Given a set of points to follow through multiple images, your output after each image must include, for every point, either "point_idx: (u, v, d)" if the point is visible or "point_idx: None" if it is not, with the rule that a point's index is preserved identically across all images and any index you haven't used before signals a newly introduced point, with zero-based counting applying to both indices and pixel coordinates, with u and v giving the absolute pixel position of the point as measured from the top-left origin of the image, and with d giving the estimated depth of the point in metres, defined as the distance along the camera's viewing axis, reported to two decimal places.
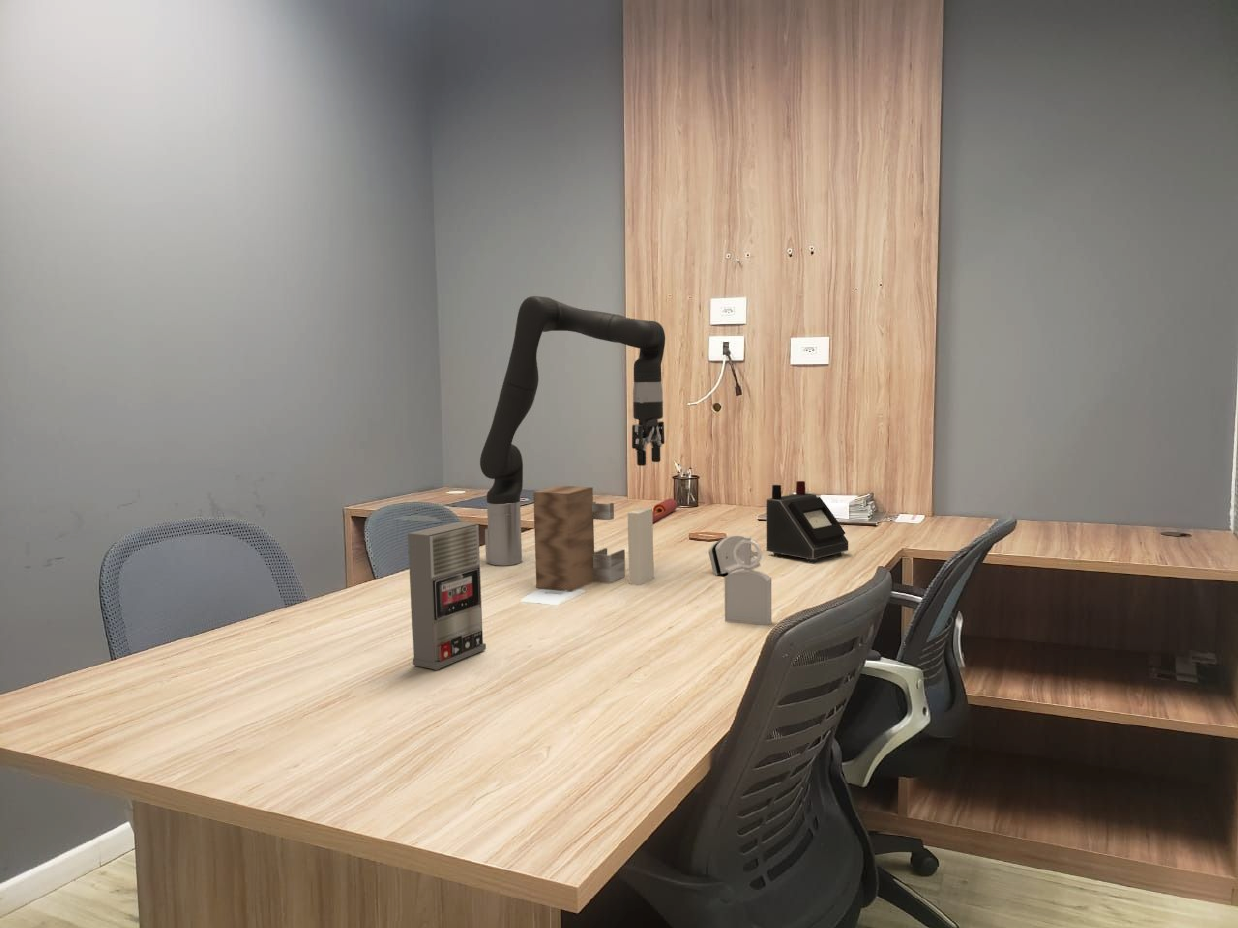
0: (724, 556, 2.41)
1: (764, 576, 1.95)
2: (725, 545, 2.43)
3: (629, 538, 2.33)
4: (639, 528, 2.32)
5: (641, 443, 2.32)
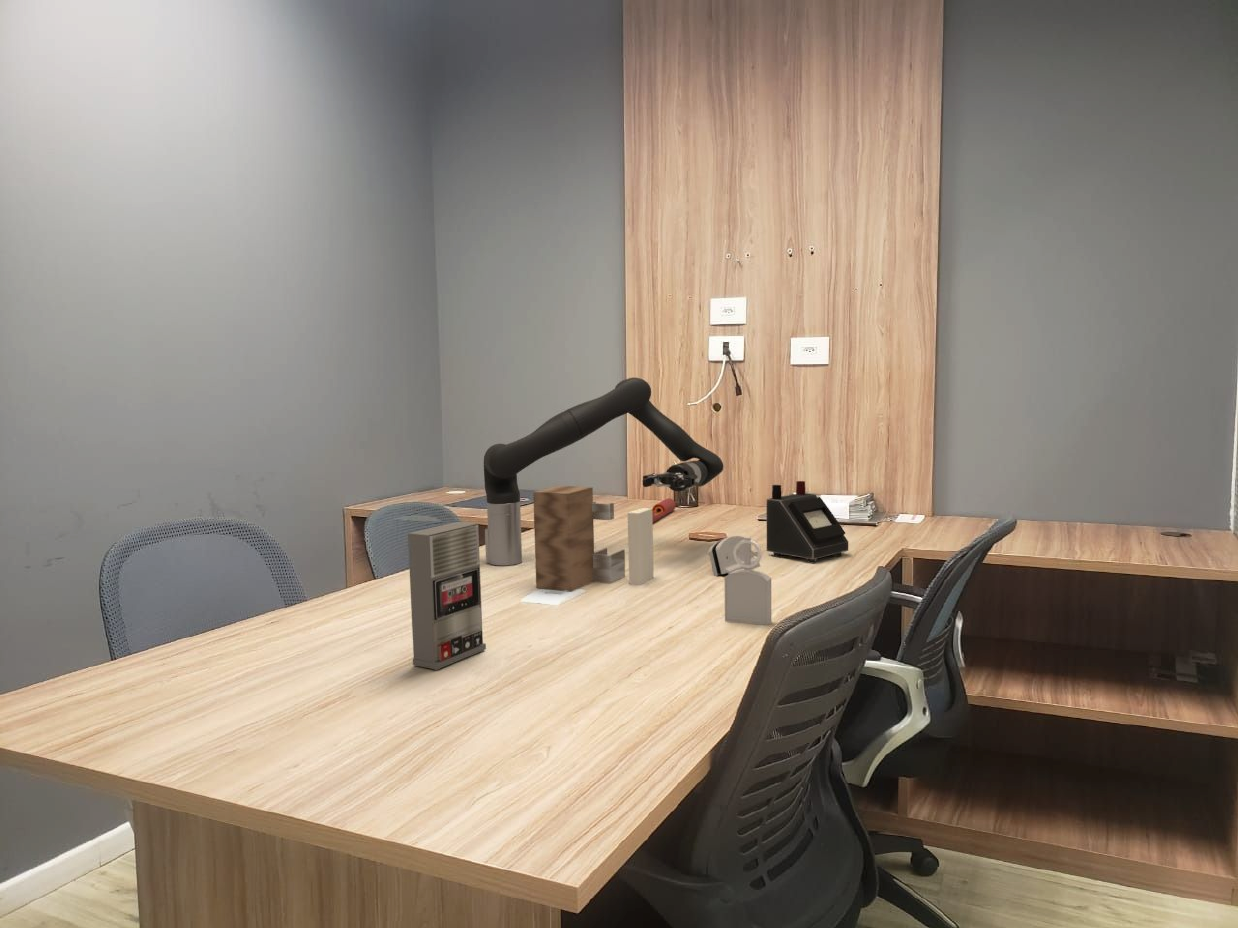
0: (724, 556, 2.41)
1: (764, 576, 1.95)
2: (725, 545, 2.43)
3: (629, 538, 2.33)
4: (639, 528, 2.32)
5: None
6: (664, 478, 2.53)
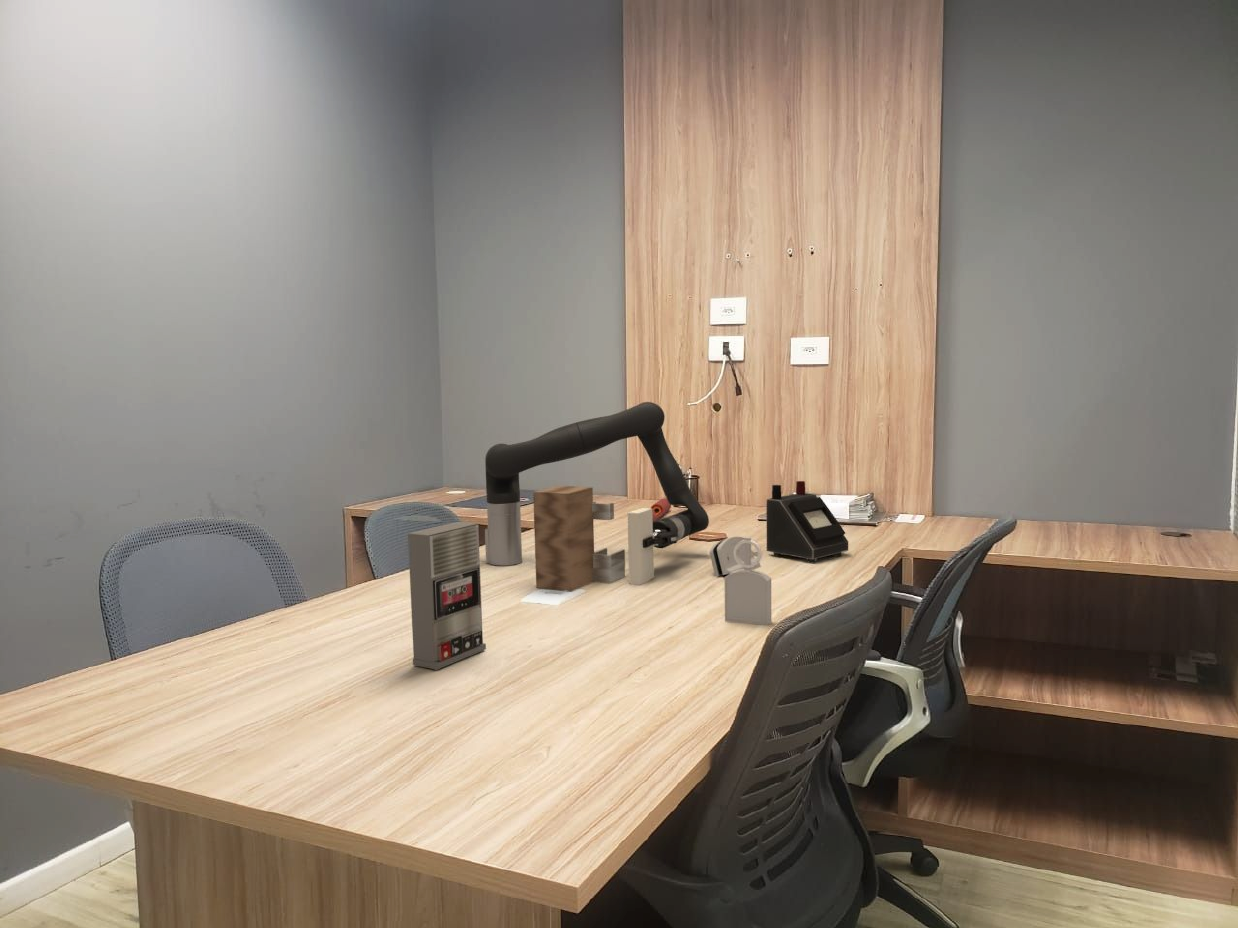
0: (725, 557, 2.40)
1: (764, 576, 1.95)
2: (726, 545, 2.42)
3: (629, 537, 2.33)
4: (639, 528, 2.32)
5: None
6: None
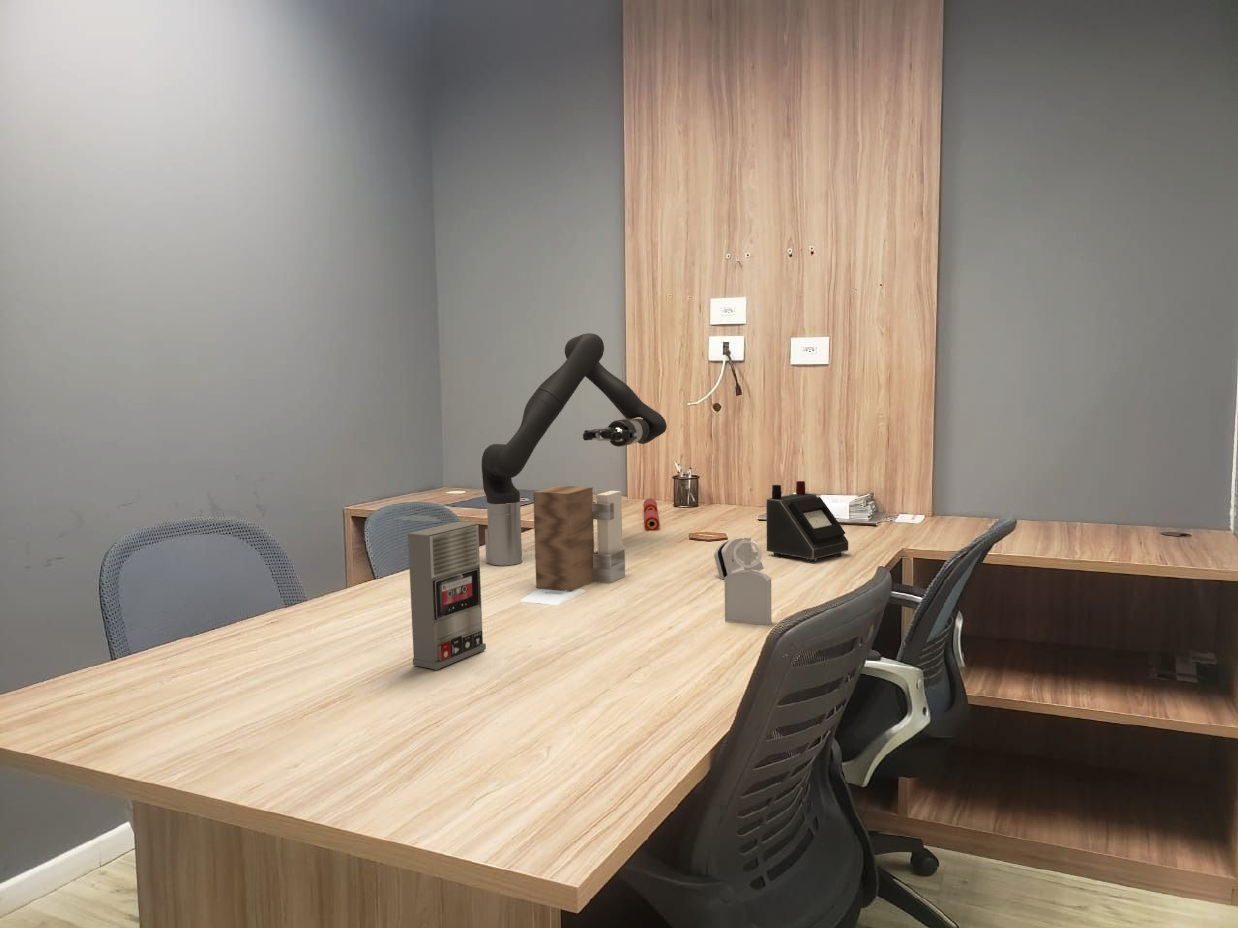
0: (730, 559, 2.37)
1: (764, 576, 1.95)
2: (731, 547, 2.39)
3: None
4: None
5: (629, 439, 2.58)
6: (604, 432, 2.62)
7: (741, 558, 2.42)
